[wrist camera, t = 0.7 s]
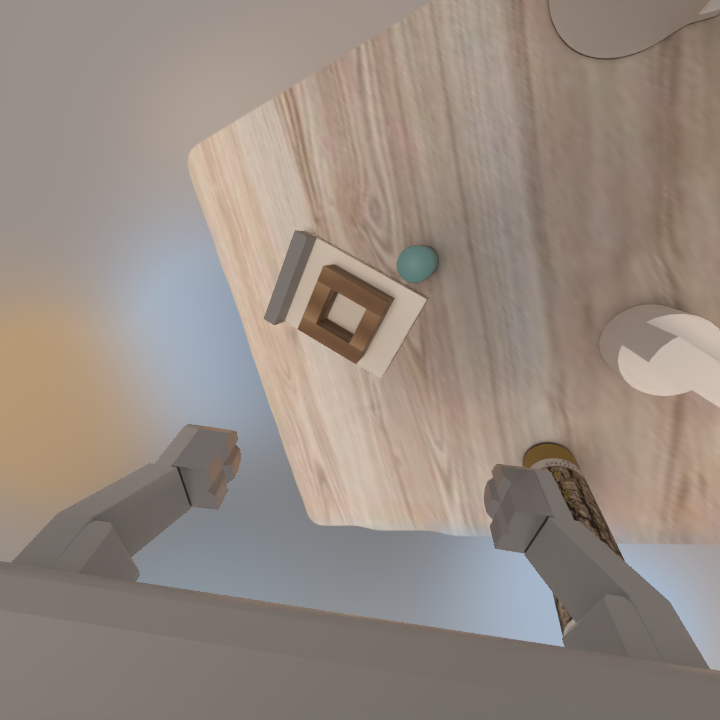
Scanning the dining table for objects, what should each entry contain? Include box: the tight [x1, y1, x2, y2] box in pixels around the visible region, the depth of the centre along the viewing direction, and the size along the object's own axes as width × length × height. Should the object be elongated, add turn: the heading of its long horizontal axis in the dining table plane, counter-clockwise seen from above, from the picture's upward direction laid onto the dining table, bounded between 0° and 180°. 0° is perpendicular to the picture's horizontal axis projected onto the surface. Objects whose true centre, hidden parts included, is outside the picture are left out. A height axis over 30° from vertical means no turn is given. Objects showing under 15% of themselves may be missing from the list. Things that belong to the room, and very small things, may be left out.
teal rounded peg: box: [397, 246, 439, 283], centre depth 41 cm, size 4×4×8 cm
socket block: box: [298, 264, 395, 364], centre depth 47 cm, size 10×10×4 cm
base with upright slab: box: [599, 304, 720, 408], centre depth 35 cm, size 9×9×12 cm
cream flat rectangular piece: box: [264, 230, 428, 379], centre depth 48 cm, size 14×20×4 cm
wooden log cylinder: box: [523, 444, 624, 637], centre depth 37 cm, size 7×7×25 cm
